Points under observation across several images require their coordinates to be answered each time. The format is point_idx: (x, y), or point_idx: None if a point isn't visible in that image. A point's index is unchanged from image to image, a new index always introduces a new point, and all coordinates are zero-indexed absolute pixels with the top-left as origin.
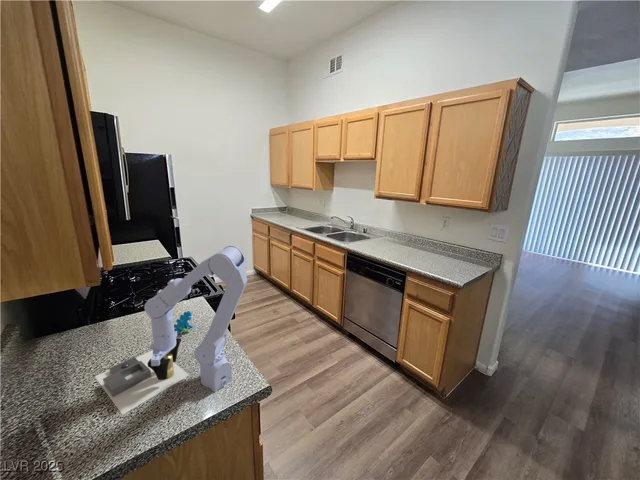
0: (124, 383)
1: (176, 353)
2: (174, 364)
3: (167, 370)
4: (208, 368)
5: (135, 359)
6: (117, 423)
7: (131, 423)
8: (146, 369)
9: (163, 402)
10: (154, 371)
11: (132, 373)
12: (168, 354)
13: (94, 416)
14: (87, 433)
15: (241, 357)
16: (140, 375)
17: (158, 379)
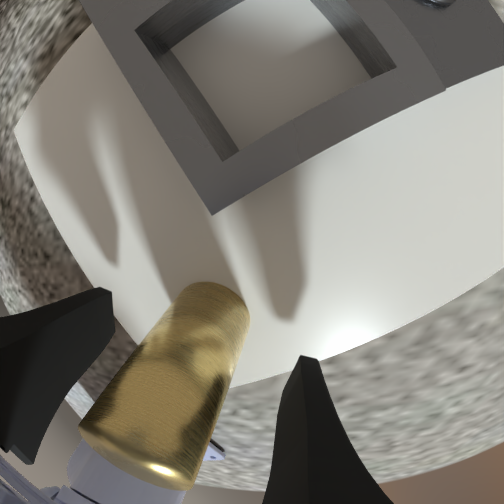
0: (101, 36)
1: (273, 465)
2: (328, 349)
3: (75, 380)
4: (74, 476)
5: (498, 59)
6: (15, 121)
7: (9, 175)
8: (239, 169)
9: (64, 277)
10: (15, 318)
11: (341, 35)
12: (161, 477)
13: (68, 7)
14: (18, 43)
15: (262, 489)
16: (158, 128)
17: (95, 288)
